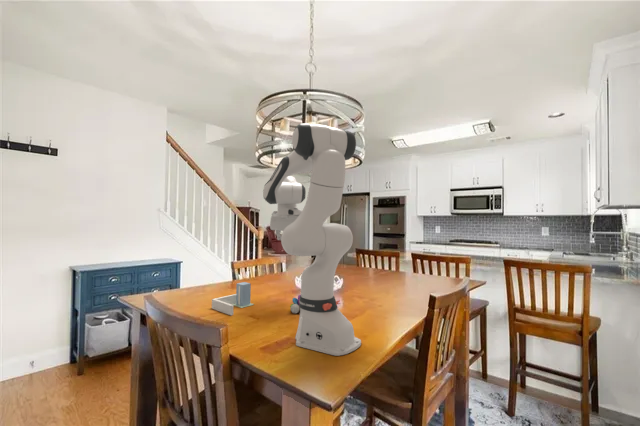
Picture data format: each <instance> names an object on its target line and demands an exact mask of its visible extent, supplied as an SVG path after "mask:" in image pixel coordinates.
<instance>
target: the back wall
mask: <svg viewBox="0 0 640 426" xmlns="http://www.w3.org/2000/svg"><path fill="white" fill-rule="evenodd" d="M214 299H217V300H220V301H223V302H226V303H229V304H236V293H235V294H231V295H230V294H229V295H225V296H224V295H223V296H221V297H216V298H212V299H211V309H213V300H214ZM213 310H214V309H213Z"/></svg>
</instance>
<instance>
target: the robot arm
mask: <svg viewBox="0 0 640 426" xmlns="http://www.w3.org/2000/svg"><path fill="white" fill-rule="evenodd" d="M291 146H292V149H293V150H292V152H290V153H289V154H287V155H285V156H284V157H282V159H280V161H279V163H278V165H277V166H276V169H275V170H274V171H273V173H272V175H271V176H270V178H269V179H268V181H267V182H265V184H264V186H263V188H262V189H263V190H262V196H263V197H262V198H263V199H264V200H265V202H266V203H268V205H275V204H276V205H277V210H275V211H273V212H272V213H271V215H270V216H271V217H270V223H269V228H270V230H271V231H275V235H276V239H277V241H280V242H281V246H282V248H283V250H284V251H285V253H286V254H288V255H290V256H291V255H292V256H295V257H296V256H297V257H312V256H313V257H314V256H315V259H314V260H313V263H311V264H310V265H309V266H308V267H306V268H305V269H304V270H303V271H302V273H301V277H300V279H301V280H300V281H301V282H300V284H301V285H300V294H299V295H300V300H299V306H300V311H299V318H298V325H297V330H296V334H295V337H294V338H295V345H296V346H297V347H300V348H304V349H308V350H312V351H316V352H320V353H322V354H323V353H324V354H327V355H331V356H335V357H336V356H338V357H340V356H344V355H348V354H349V353H353V352H354V351H356V350H357V349H358V348H360V347H361V345H362V340H361V339H360V338H358V337H357V336H355V330H354V326H353V324H352V322H351V321H350V320H349V319H348V318H347V317H346V316H345V315H344V314H343V313H342V311H341V310H339V307H338V305H340V304H341V303H340V301H341V300H336V297H335V294H334V290H335V289H334V287H335V275H336V271H337V268H338V265H339V263H340V262H341V260H342V258H343V256H344V255H345V254H346V253H347V252H349V251H350V249H351V247H352V245H353V241H354V236H353V232H352V230H351V228H350V227H349V226H348V225H346V224H345V225H344V224H343V223H342V224H341V223H337V222H326V220H327V219H328V218H330V217H331V216H332V215H334V214H336V213H337V212H338V211H339V210H340V208H341V205H342V204H341V203H342V198H343V194H344V188H345V187H344V186H345V179H346V161H350V159H351V158H352V157H353V156H354V154H355V152H356V147H357V140H356V137H355V134H354V133H353V132H351V131H349V130H347V129H341V128H337V127H334V126H333V127H332V126H328V125H325V124H313V123H311V124H310V123H309V122H308V123H306V122H304V123H299V124H297V126H295V128H294V130H293V133H292V135H291ZM310 172H311V174H310V178H309V179H310V180H309V185H308V192H307V198H306V187H305V186H304V185H303V184H302V183H301V182H298V181H297V179H296V177H295V176H293V175H300V174H308V173H310ZM305 199H306V201H305ZM304 201H305V205H304V207H303V208H302V209H301V208H298V207H297V205H298V204H301V203H303V202H304ZM281 231H282V232H281Z"/></svg>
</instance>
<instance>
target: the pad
mask: <svg viewBox="0 0 640 426" xmlns="http://www.w3.org/2000/svg"><path fill="white" fill-rule="evenodd" d="M232 305H234V307H237V308H240V309H243V308H246V307H251V306H253V305H254V306H255V304H254V303H251V302H250V305H246V306H239V305H236V303H235V304H232Z"/></svg>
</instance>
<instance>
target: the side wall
mask: <svg viewBox="0 0 640 426" xmlns="http://www.w3.org/2000/svg"><path fill="white" fill-rule="evenodd" d="M213 299H214V300H213V310H214V311H218V312H220V313H223V314H225V315H229V316H234V307H235V306H234V305H232V304H229V303H226V302H223V301H220V300H217V299H215V298H213Z"/></svg>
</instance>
